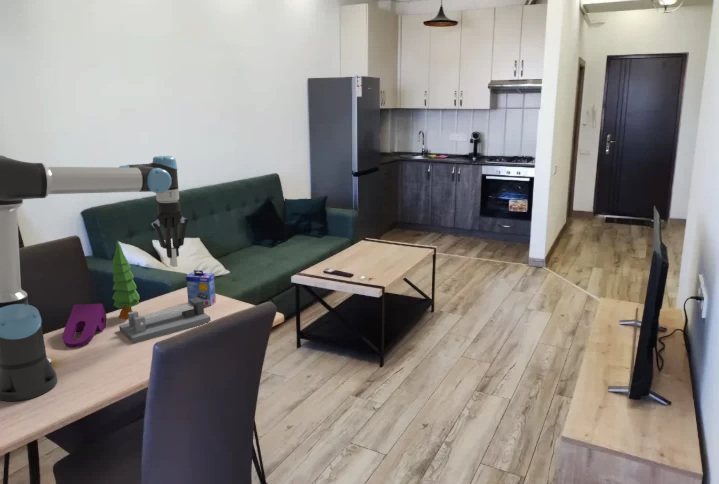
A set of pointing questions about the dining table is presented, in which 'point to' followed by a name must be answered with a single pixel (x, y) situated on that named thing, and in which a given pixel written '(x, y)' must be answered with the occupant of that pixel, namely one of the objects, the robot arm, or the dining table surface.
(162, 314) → the grey long flat bar
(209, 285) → the ink cartridge box
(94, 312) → the mounting bracket
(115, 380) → the dining table surface
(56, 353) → the dining table surface
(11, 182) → the robot arm
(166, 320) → the latch base
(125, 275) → the decorative tree
